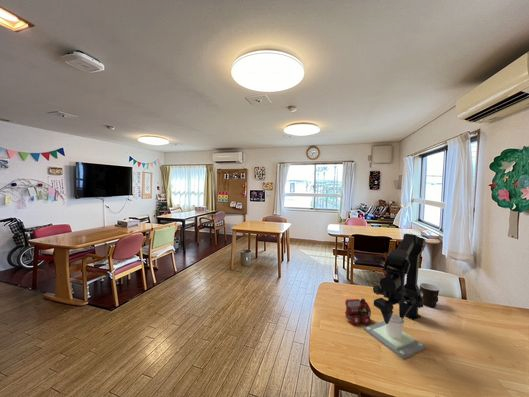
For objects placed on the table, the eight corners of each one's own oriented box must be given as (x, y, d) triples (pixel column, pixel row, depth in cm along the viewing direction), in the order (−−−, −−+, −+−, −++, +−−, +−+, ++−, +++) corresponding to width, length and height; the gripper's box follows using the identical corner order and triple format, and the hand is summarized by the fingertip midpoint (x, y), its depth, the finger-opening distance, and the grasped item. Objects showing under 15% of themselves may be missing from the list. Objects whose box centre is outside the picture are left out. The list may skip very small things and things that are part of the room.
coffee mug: (418, 298, 125) (419, 281, 125) (437, 303, 120) (438, 286, 120) (418, 307, 116) (419, 289, 115) (439, 313, 111) (440, 294, 110)
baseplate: (385, 322, 103) (385, 318, 103) (426, 348, 87) (426, 344, 86) (363, 329, 97) (363, 325, 97) (403, 359, 81) (403, 354, 81)
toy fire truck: (374, 324, 101) (375, 302, 101) (348, 325, 100) (349, 303, 99) (365, 315, 108) (366, 295, 107) (341, 316, 107) (342, 296, 106)
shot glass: (380, 329, 95) (381, 313, 95) (395, 328, 96) (396, 313, 95) (391, 340, 88) (392, 323, 88) (407, 339, 89) (408, 323, 88)
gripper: (392, 274, 102) (391, 306, 102) (363, 280, 94) (361, 315, 95) (418, 284, 91) (415, 320, 92) (387, 292, 84) (385, 331, 85)
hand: (393, 321), depth 91 cm, fingers open, 9 cm apart
